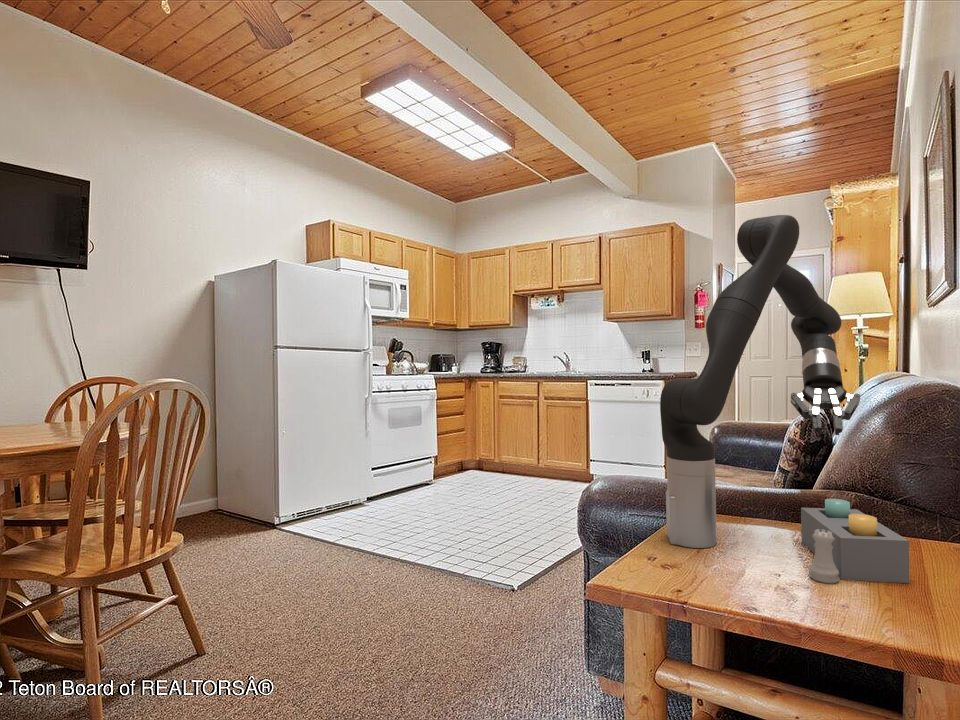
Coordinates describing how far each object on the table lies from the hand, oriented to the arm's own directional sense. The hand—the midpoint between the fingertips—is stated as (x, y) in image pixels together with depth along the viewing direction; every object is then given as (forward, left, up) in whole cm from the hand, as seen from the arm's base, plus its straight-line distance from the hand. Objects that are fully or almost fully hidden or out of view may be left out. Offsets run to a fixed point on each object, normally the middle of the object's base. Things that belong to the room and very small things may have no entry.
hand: (828, 432), depth 115 cm
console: (-3, -17, -21) cm, 27 cm away
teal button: (-3, -12, -15) cm, 20 cm away
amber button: (-3, -22, -15) cm, 27 cm away
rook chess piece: (-11, -26, -21) cm, 36 cm away
